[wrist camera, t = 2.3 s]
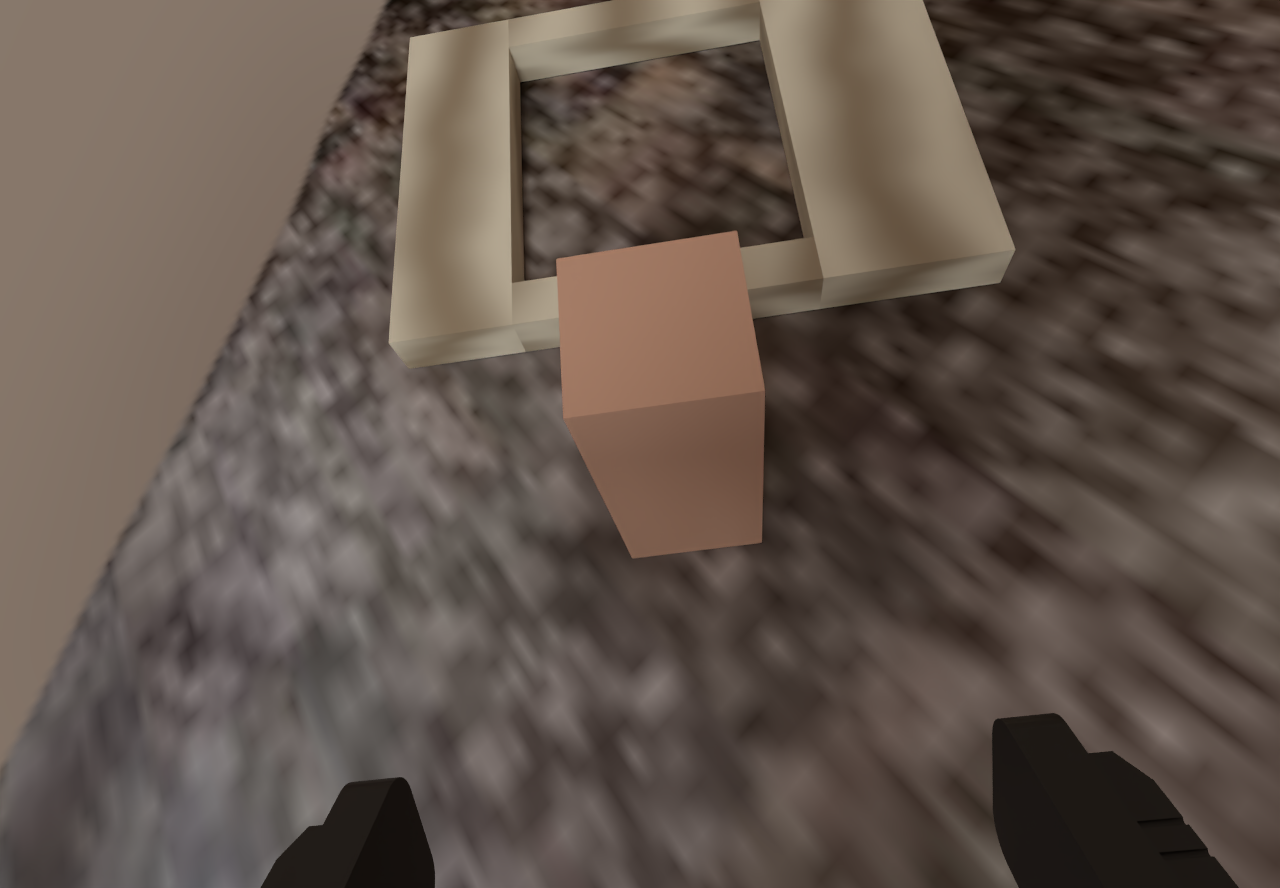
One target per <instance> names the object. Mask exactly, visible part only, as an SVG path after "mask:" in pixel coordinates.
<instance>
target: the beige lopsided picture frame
mask: <svg viewBox="0 0 1280 888" xmlns="http://www.w3.org/2000/svg"><path fill="white" fill-rule="evenodd" d="M758 40H760V44H761V49H762V53H763V58H764V62H765V67H766V71H767V76H768V80H769V85H770V89H771V94H772V98H773V102H774V107H775V111H776V116H777V120H778V125H779V129H780V134H781V138H782V143H783V147H784V152H785V156H786V161H787V165H788V170H789V174H790V179H791V183H792V188H793V192H794V196H795V201H796V205H797V210H798V214H799V219H800V223H801V228H802V232H803V237H804V238H802V239H795V240H789V241H782V242H776V243H769V244H763V245H756V246H750V247H743V248H740V251H741V256H742V262H743V268H744V273H745V279H746V285H747V290H748V296H749V302H750V307H751V313H752V319H755V318H762V317H769V316H775V315H782V314H789V313H796V312H803V311H810V310H817V309H823V308H830V307H837V306H844V305H851V304H858V303H865V302H872V301H878V300H885V299H892V298H899V297H906V296H913V295H920V294H926V293H933V292H940V291H947V290H954V289H961V288H968V287H974V286H981V285H988V284H995V283H1000V282H1001V280H1002V278H1003V276H1004V273H1005V271H1006V269H1007V267H1008V265H1009V263H1010V260H1011V258H1012V256H1013V254H1014V252H1015V250H1016V249H1015V247H1014V244H1013V241H1012V239H1011V236H1010V233H1009V231H1008V228H1007V225H1006V223H1005V220H1004V217H1003V215H1002V212H1001V209H1000V207H999V204H998V201H997V198H996V196H995V193H994V190H993V188H992V185H991V182H990V180H989V177H988V174H987V172H986V169H985V166H984V164H983V161H982V158H981V156H980V153H979V150H978V148H977V145H976V142H975V139H974V137H973V134H972V131H971V129H970V126H969V123H968V121H967V118H966V115H965V113H964V110H963V107H962V105H961V102H960V99H959V97H958V94H957V91H956V89H955V86H954V83H953V80H952V78H951V75H950V72H949V70H948V67H947V64H946V62H945V59H944V56H943V54H942V51H941V48H940V46H939V43H938V40H937V38H936V35H935V32H934V30H933V27H932V24H931V21H930V19H929V16H928V13H927V11H926V8H925V5H924V3H923V0H613V1H607V2H602V3H596V4H591V5H585V6H580V7H575V8H569V9H564V10H558V11H553V12H547V13H542V14H536V15H531V16H525V17H520V18H515V19H509V20H504V21H498V22H493V23H487V24H482V25H476V26H471V27H466V28H460V29H455V30H449V31H444V32H438V33H433V34H427V35H422V36H416V37H411V38H410V46H409V60H408V75H407V89H406V103H405V117H404V131H403V146H402V160H401V174H400V188H399V203H398V217H397V231H396V245H395V260H394V274H393V288H392V302H391V316H390V331H389V344H390V345H391V347H392V348H393V349H394V350H395V352H396V353H397V354H398V356H399V357H400V358H401V359H402V361H403V362H404V363H405V364H406V366H407V367H408V368H409V369H412V368H418V367H425V366H432V365H439V364H446V363H453V362H460V361H466V360H473V359H480V358H487V357H494V356H501V355H508V354H515V353H521V352H528V351H535V350H542V349H549V348H556V347H560V332H559V309H558V287H557V276H554V277H548V278H541V279H535V280H528V281H524V240H523V193H522V147H521V100H520V82H525V81H531V80H536V79H542V78H548V77H553V76H559V75H565V74H570V73H576V72H582V71H587V70H593V69H599V68H604V67H610V66H616V65H621V64H627V63H633V62H638V61H644V60H650V59H655V58H661V57H667V56H673V55H678V54H684V53H690V52H695V51H701V50H707V49H712V48H718V47H724V46H729V45H735V44H741V43H746V42H752V41H758Z"/></svg>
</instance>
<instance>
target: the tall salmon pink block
mask: <svg viewBox="0 0 1280 888" xmlns="http://www.w3.org/2000/svg"><path fill="white" fill-rule="evenodd" d="M556 264H557V287H558V309H559V332H560V355H561V377H562V400H563V419H564V421H565V423H566V425H567V427H568V429H569V431H570V433H571V435H572V437H573V439H574V441H575V443H576V445H577V447H578V449H579V451H580V453H581V455H582V457H583V459H584V461H585V463H586V465H587V468H588V470H589V472H590V474H591V476H592V478H593V480H594V482H595V484H596V486H597V488H598V490H599V492H600V494H601V496H602V498H603V500H604V502H605V504H606V506H607V508H608V510H609V512H610V514H611V516H612V518H613V520H614V522H615V524H616V526H617V528H618V530H619V532H620V534H621V536H622V538H623V540H624V543H625V545H626V547H627V549H628V551H629V553H630V555H631V557H632V558H641V557H649V556H657V555H665V554H674V553H682V552H690V551H699V550H707V549H715V548H723V547H732V546H740V545H748V544H756V543H762V515H763V468H764V421H765V387H764V381H763V376H762V370H761V364H760V359H759V353H758V347H757V342H756V336H755V330H754V325H753V319H752V313H751V307H750V302H749V296H748V290H747V285H746V279H745V273H744V268H743V262H742V256H741V251H740V245H739V239H738V234H737V231H731V232H725V233H719V234H712V235H706V236H699V237H693V238H687V239H680V240H674V241H667V242H661V243H655V244H648V245H642V246H635V247H629V248H623V249H616V250H610V251H603V252H597V253H591V254H584V255H578V256H571V257H565V258H559V259H556Z"/></svg>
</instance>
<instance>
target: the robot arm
mask: <svg viewBox="0 0 1280 888" xmlns="http://www.w3.org/2000/svg"><path fill="white" fill-rule="evenodd" d="M992 756H993V815H994V822H995V827H996V832H997V835H998V839H999V843H1000V846H1001V849H1002V852H1003V854H1004V857H1005V859H1006V862H1007V864H1008V866H1009V868H1010V870H1011V872H1012V874H1013V876H1014V878H1015V880H1016V883H1017V885H1018V887H1019V888H1239V887H1238V886H1237V885H1236V884H1235V882H1234V881H1233V880H1232V879H1231V877H1230V876H1229V875H1228V873H1227V872H1226V871H1225V870H1224V868H1223V867H1222V866H1221V865H1220V863H1219V862H1218V861H1217V860H1216V858H1215V857H1211V856H1210V855H1209V853H1208V848H1207V847H1206V846H1205V844H1204V843H1203V842H1202V841H1201V839H1200V838H1199V837H1198V836H1197V834H1196V833H1195V832H1194V831H1193V829H1192V828H1191V827H1190V825H1186V824H1185V823H1184V821H1183V817H1182V815H1181V814H1180V813H1179V812H1178V810H1177V809H1176V808H1175V807H1174V805H1173V804H1172V803H1171V801H1170V800H1169V799H1168V798H1167V796H1166V795H1165V794H1164V793H1163V791H1162V790H1161V789H1160V788H1159V786H1158V785H1157V784H1156V783H1155V781H1154V780H1153V779H1151V778H1150V777H1148V776H1147V775H1145V774H1144V773H1143V772H1141V771H1140V770H1138V769H1137V768H1135V767H1134V766H1133V765H1131V764H1130V763H1128V762H1127V761H1125V760H1124V759H1123V758H1121V757H1120V756H1118V755H1117V754H1115V753H1114V752H1113V751H1109V752H1099V753H1087V751H1086V750H1085V749H1084V747H1083V746H1082V744H1081V743H1080V742H1079V740H1078V739H1077V737H1076V736H1075V735H1074V733H1073V732H1072V730H1071V729H1070V728H1069V726H1068V725H1067V723H1066V722H1065V721H1064V720H1063V718H1062V717H1060V716H1059V715H1058V714H1055V713H1050V714H1040V715H1030V716H1020V717H1011V718H1001V719H996V720H995V721H994V724H993V730H992ZM261 888H435V870H434V862H433V858H432V854H431V851H430V848H429V845H428V841H427V838H426V835H425V832H424V829H423V826H422V823H421V820H420V816H419V813H418V810H417V807H416V804H415V801H414V798H413V794H412V791H411V788H410V786H409V784H408V782H407V781H406V780H405V779H404V778H402V777H397V778H387V779H377V780H368V781H358V782H350V783H348V784H347V785H345V786H344V788H343V789H342V790H341V792H340V794H339V795H338V797H337V799H336V801H335V803H334V805H333V807H332V809H331V811H330V813H329V814H328V816H327V818H326V820H325V822H324V824H323V825H319V826H309V827H308V828H307V829H306V830H305V831H304V832H303V833H302V834H301V835H300V836H299V837H298V838H297V839H296V840H295V841H294V842H293V843H292V844H291V845H290V846H289V847H288V848H287V849H286V850H285V852H284V853H283V854H282V855H281V856H280V857H279V858H278V859H277V860H276V862H275V863H274V865H273V867H272V869H271V870H270V872H269V874H268V876H267V877H266V879H265V881H264V883H263V884H262V886H261Z"/></svg>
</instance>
